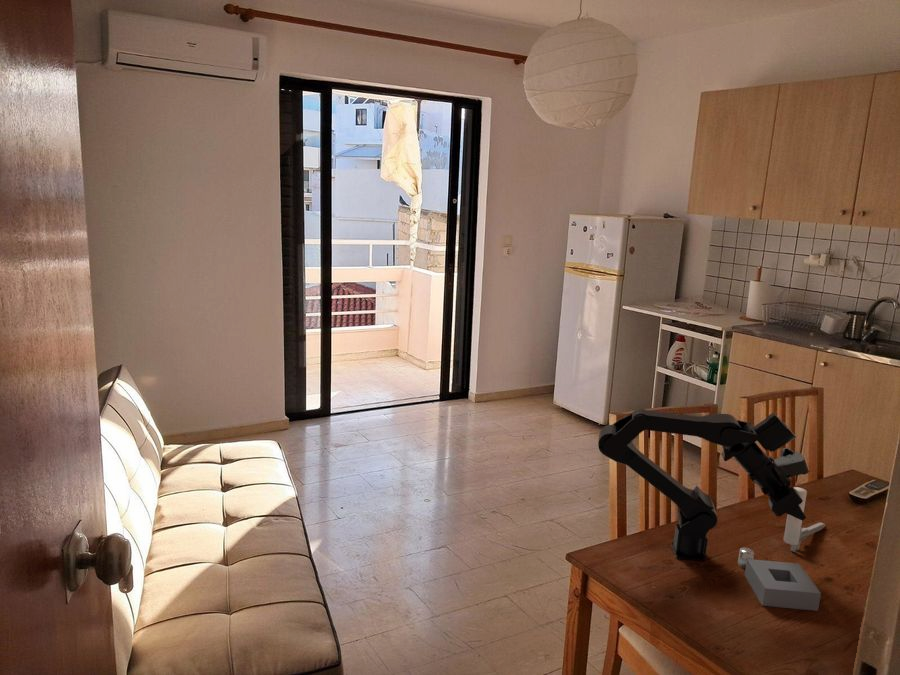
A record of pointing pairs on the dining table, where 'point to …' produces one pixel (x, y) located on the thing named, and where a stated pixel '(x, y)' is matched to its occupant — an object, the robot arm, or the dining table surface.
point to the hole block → (782, 585)
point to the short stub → (745, 556)
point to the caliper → (805, 532)
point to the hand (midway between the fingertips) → (802, 515)
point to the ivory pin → (794, 522)
